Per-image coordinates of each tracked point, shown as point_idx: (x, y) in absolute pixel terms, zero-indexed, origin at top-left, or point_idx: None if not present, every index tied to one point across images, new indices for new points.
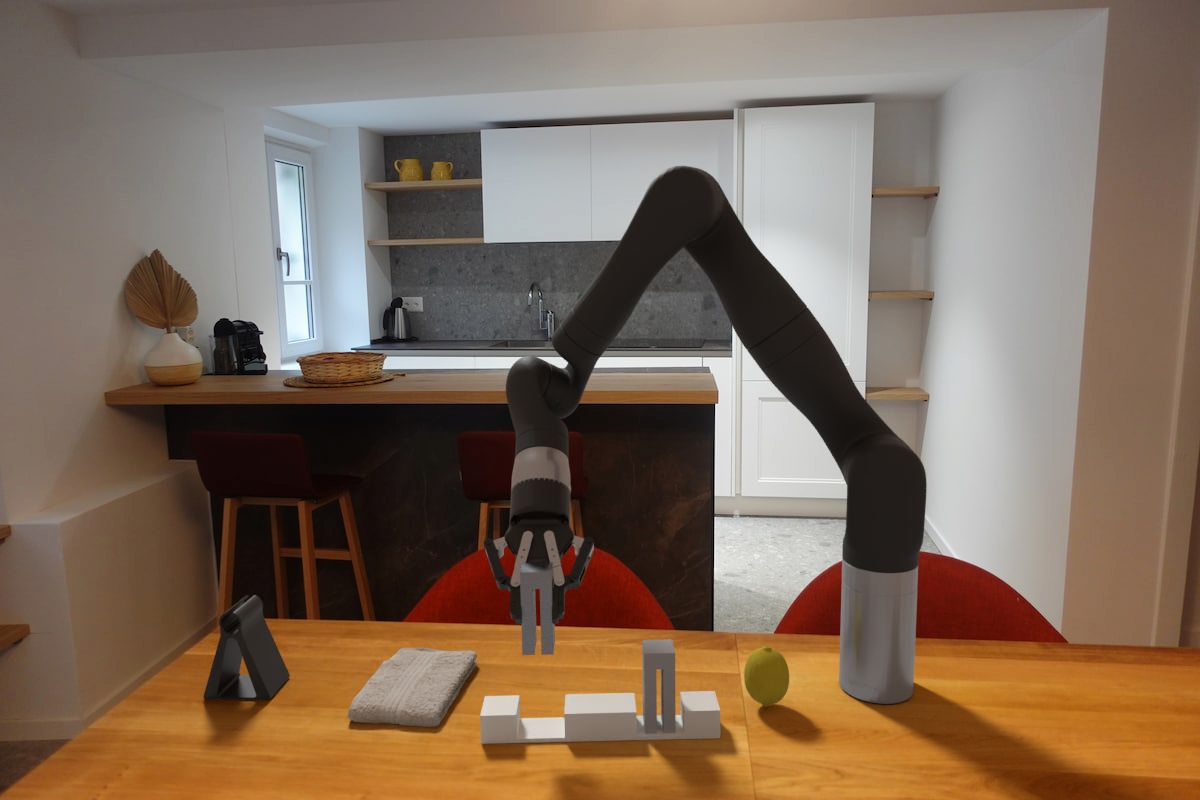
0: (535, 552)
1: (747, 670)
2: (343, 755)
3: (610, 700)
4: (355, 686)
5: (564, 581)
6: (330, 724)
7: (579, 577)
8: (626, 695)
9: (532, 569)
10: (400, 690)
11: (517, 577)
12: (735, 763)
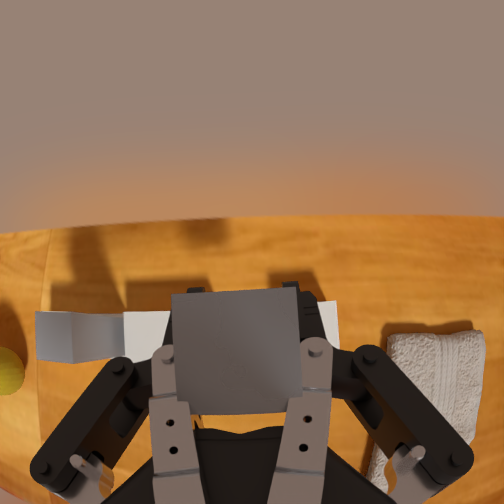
0: (253, 457)
1: (6, 368)
2: (459, 271)
3: (155, 344)
4: (485, 405)
5: (152, 356)
6: (487, 326)
7: (106, 364)
8: (135, 356)
9: (249, 321)
10: (446, 378)
11: (312, 363)
12: (55, 269)
